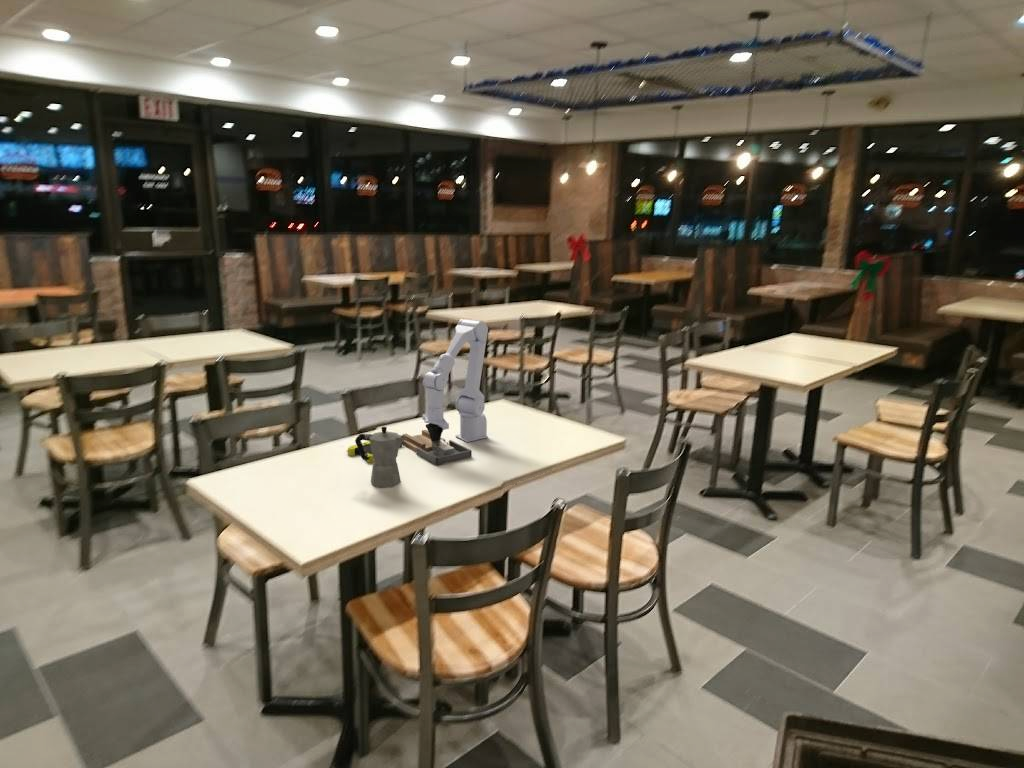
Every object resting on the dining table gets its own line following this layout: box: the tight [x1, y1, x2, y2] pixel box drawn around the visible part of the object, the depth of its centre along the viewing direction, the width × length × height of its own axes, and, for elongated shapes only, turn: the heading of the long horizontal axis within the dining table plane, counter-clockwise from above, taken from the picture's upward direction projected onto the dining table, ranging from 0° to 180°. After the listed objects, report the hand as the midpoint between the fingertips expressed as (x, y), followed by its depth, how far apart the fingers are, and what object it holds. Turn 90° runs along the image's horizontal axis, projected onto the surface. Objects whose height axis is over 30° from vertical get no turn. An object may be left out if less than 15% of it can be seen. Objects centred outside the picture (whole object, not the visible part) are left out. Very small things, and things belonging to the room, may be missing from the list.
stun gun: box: [346, 441, 403, 464], centre depth 231 cm, size 3×19×15 cm
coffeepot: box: [354, 426, 406, 489], centre depth 203 cm, size 15×9×18 cm, turn 90°
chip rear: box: [432, 440, 449, 454], centre depth 230 cm, size 4×4×3 cm
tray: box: [415, 439, 473, 466], centre depth 229 cm, size 14×13×2 cm
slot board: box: [402, 429, 449, 453], centre depth 239 cm, size 12×14×3 cm
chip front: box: [438, 444, 454, 457], centre depth 227 cm, size 4×4×3 cm
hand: (435, 443), depth 232 cm, fingers closed
